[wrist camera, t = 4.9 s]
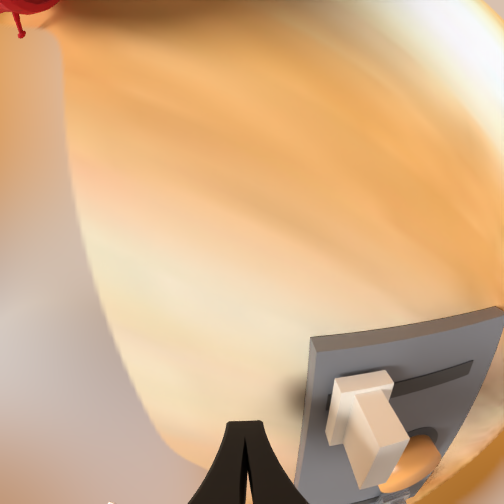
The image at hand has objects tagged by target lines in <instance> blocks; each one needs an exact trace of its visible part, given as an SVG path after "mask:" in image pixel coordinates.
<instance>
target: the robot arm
mask: <svg viewBox="0 0 504 504" xmlns="http://www.w3.org/2000/svg"><path fill="white" fill-rule="evenodd" d="M247 473H248V475H249V482H250V488H251V494H252V500H253V504H309V503H308V502H307V500H306V499H305V498H304V497H303V496H302V495H301V493H300V492H299V491H298V490H297V488H296V487H295V486H294V485H293V483H292V482H291V480H290V479H289V477H288V476H287V474H286V473H285V471H284V470H283V468H282V466H281V465H280V463H279V461H278V459H277V457H276V456H275V454H274V452H273V450H272V448H271V445H270V443H269V441H268V438H267V436H266V433H265V429H264V426H263V422H262V421H260V420H257V421H229V422H228V423H227V424H226V430H225V433H224V437H223V440H222V443H221V445H220V448H219V450H218V453H217V455H216V457H215V460H214V462H213V464H212V466H211V468H210V470H209V471H208V473H207V475H206V477H205V479H204V481H203V482H202V484H201V485H200V487H199V489H198V490H197V492H196V493H195V494H194V496H193V497H192V499H191V500H190V501H189V502H188V504H245V502H246V488H247Z"/></svg>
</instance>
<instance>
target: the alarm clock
mask: <svg viewBox="0 0 504 504" xmlns="http://www.w3.org/2000/svg"><path fill="white" fill-rule="evenodd" d="M59 1H60V0H0V13H3V12H12V14H13V17H14V20H15V22H16V25H17V28H18V31H19V34H18V37H19V38H23V37H24V36H25V34H26V32H25V31H23V30H22V26H21V22H20V16H19V14H25V15H29V14H35V13H38V12H42V11H45V10H48V9H50V8H51V7H53V6H54V5H55V4H57V3H58V2H59Z"/></svg>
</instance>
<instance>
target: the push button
mask: <svg viewBox="0 0 504 504" xmlns="http://www.w3.org/2000/svg"><path fill="white" fill-rule="evenodd" d="M440 461H441V454H440V453H439V451H438V450H437V448H436V446H435V445H434V443H433V442H432V440H431V438H430V437H429V436H427V435H417V436H413V437H410V440H409V442H408V444H407V446H406V448H405V450H404V452H403V453H402V455H401V457H400V459H399V461H398V463H397V465H396V466H395V468H394V470H393V472H392V473H391V475H390V477H389V478H388V480H387V482H386V483H383V484H380V485H378V486H379V489H380V491H381V492H383V493H392V492H397V491H400V490H403V489H405V488H408V487H410V486H412V485H414V484H416V483H417V482H419V481H420V480H422V479H423V478H425V477H426V476H427V475H429V474H430V473H431V472H432V471H433V470H434V469H435V468H436V467H437V466H438V464H439V463H440Z"/></svg>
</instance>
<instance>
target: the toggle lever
mask: <svg viewBox="0 0 504 504" xmlns="http://www.w3.org/2000/svg"><path fill="white" fill-rule="evenodd" d="M393 386H394V382H393V380H392V379H391V377H390V376H389V374H388V373H387V371H386V370H381V371H376V372H371V373H365V374H359V375H353V376H347V377H340V378H335V380H334V386H333V392H332V398H331V404H330V409H329V414H328V420H327V425H326V430H325V433H326V436H327V439H328V443H329V446H333V445H339V444H344V447H345V450H346V453H347V456H348V458H349V461H350V464H351V467H352V470H353V473H354V476H355V478H356V481H357V484H358V487H359V490H361V489H365V488H369V487H373V486H376V485H380V484H383V483H386V482H387V480H388V478H389V477H390V475H391V473H392V472H393V470H394V468H395V466H396V465H397V463H398V461H399V459H400V457H401V455H402V453H403V452H404V450H405V448H406V446H407V444H408V442H409V440H410V438H409V436H408V434H407V432H406V431H405V429H404V427H403V426H402V424H401V422H400V420H399V419H398V417H397V415H396V414H395V412H394V410H393V409H392V407H391V405H390V403H389V399H390V395H391V392H392V389H393Z"/></svg>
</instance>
